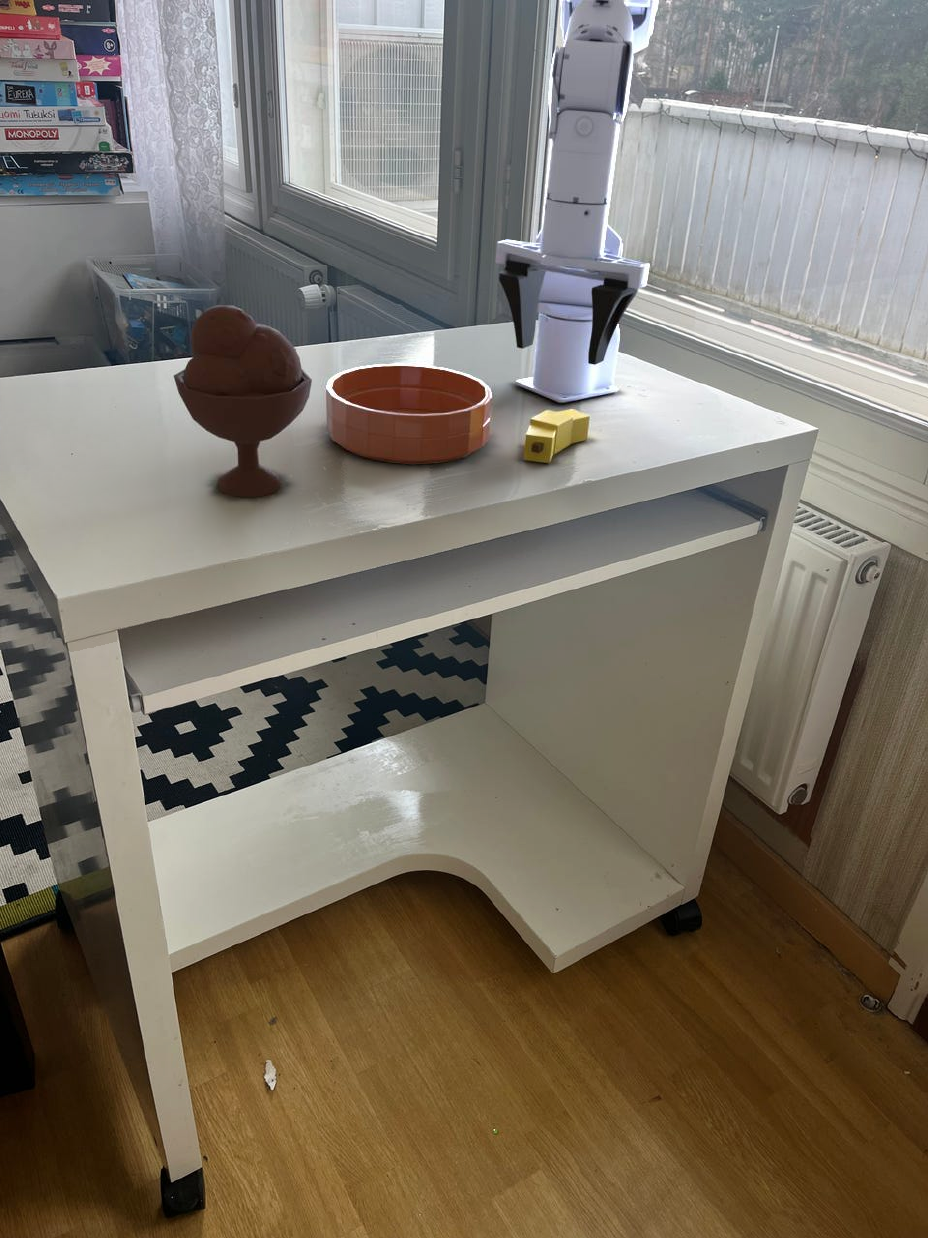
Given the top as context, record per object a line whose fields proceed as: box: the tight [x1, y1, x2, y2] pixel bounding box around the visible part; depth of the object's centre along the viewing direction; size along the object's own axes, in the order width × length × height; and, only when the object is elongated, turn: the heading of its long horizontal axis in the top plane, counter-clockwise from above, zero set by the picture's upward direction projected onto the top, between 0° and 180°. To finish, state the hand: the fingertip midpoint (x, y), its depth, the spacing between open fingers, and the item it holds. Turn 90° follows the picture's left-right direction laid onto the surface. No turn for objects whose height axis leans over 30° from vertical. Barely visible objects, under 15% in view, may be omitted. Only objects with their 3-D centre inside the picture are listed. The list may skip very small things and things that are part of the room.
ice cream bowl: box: [173, 304, 313, 498], centre depth 79 cm, size 11×11×15 cm
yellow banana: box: [523, 408, 591, 464], centre depth 94 cm, size 10×4×3 cm, turn 148°
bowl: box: [325, 363, 493, 465], centre depth 94 cm, size 16×16×5 cm
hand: (559, 353), depth 90 cm, fingers open, 7 cm apart
